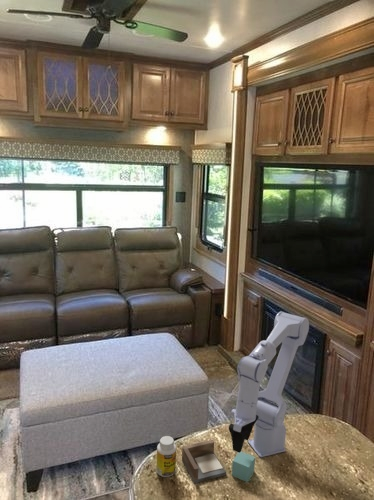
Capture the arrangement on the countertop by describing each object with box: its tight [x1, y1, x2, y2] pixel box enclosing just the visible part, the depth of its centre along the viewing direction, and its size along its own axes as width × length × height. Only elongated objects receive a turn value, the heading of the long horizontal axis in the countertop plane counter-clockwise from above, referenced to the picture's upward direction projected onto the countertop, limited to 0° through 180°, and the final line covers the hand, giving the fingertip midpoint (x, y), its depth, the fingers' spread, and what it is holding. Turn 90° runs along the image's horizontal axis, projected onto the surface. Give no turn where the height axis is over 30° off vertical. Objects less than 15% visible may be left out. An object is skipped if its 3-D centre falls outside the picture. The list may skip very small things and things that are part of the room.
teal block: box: [231, 451, 256, 483], centre depth 121 cm, size 5×5×5 cm
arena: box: [181, 439, 227, 484], centre depth 123 cm, size 10×10×4 cm
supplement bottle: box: [156, 435, 177, 478], centre depth 120 cm, size 6×6×10 cm
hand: (240, 444), depth 119 cm, fingers open, 7 cm apart
